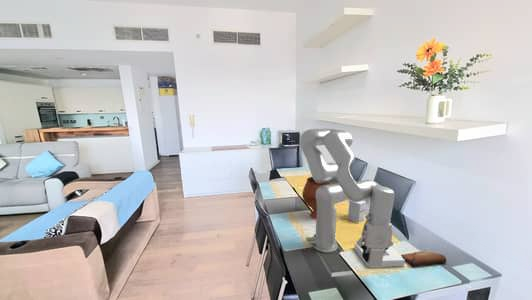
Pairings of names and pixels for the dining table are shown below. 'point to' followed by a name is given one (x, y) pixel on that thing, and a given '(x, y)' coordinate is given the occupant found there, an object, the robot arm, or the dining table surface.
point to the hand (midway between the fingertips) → (372, 259)
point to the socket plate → (384, 257)
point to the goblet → (312, 194)
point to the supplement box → (356, 211)
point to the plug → (375, 256)
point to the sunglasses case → (423, 258)
